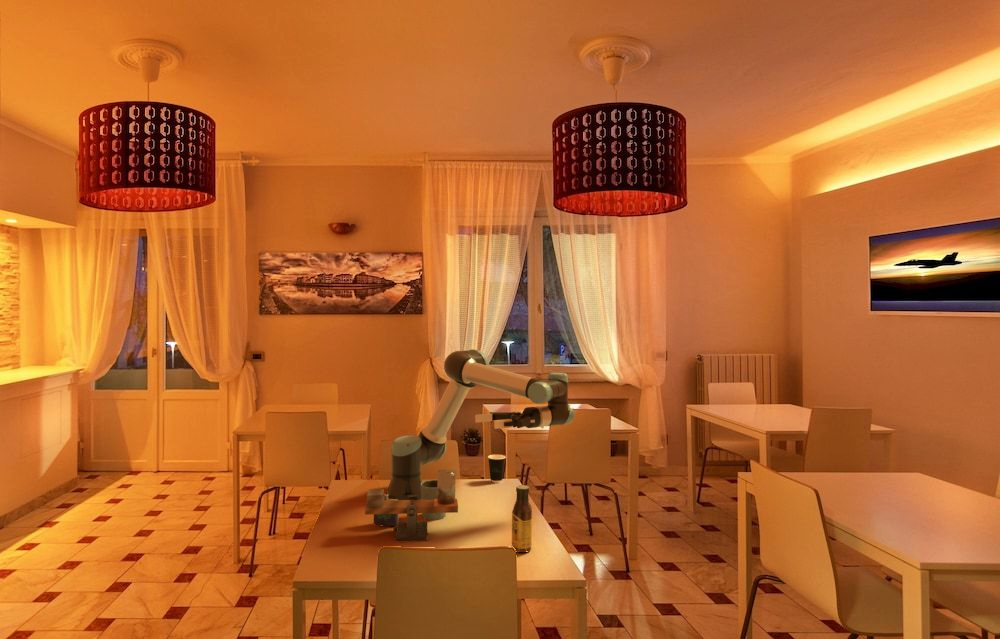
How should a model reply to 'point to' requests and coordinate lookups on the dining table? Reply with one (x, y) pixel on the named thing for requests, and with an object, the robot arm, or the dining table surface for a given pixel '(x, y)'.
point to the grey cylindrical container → (430, 498)
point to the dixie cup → (496, 467)
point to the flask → (386, 517)
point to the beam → (404, 505)
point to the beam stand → (411, 526)
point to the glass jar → (446, 486)
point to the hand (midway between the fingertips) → (484, 421)
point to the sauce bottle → (522, 521)
